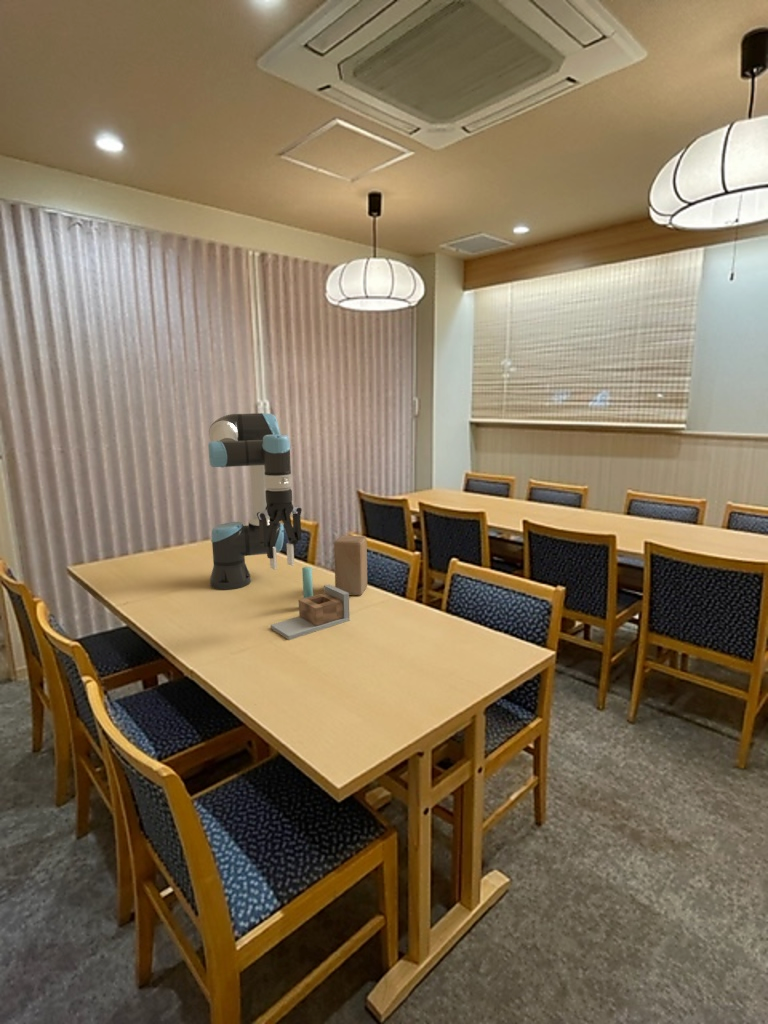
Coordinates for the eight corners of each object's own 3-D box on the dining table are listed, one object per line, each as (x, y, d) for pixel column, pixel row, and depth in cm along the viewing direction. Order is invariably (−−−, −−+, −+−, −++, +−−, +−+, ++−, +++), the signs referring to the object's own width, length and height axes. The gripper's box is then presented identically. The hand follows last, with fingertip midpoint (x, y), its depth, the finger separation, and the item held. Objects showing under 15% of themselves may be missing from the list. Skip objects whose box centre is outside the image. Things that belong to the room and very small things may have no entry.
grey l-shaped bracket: (270, 628, 169) (269, 600, 167) (330, 610, 183) (329, 584, 181) (288, 639, 161) (287, 610, 159) (349, 620, 174) (348, 593, 173)
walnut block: (299, 616, 174) (298, 599, 173) (325, 608, 181) (325, 592, 180) (316, 625, 167) (315, 608, 166) (343, 617, 173) (342, 600, 172)
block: (361, 596, 196) (360, 542, 192) (334, 594, 198) (333, 541, 194) (368, 587, 205) (367, 535, 201) (342, 585, 207) (340, 534, 203)
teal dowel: (302, 607, 186) (300, 568, 183) (310, 605, 188) (308, 566, 185) (307, 610, 183) (305, 570, 180) (315, 608, 185) (313, 568, 182)
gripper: (255, 493, 149) (260, 575, 153) (312, 487, 160) (315, 563, 165) (243, 490, 155) (248, 569, 159) (299, 484, 166) (302, 558, 170)
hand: (282, 566), depth 162 cm, fingers open, 5 cm apart
